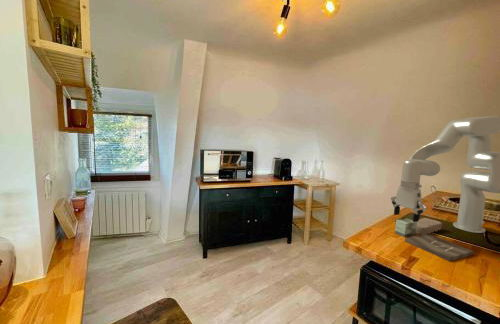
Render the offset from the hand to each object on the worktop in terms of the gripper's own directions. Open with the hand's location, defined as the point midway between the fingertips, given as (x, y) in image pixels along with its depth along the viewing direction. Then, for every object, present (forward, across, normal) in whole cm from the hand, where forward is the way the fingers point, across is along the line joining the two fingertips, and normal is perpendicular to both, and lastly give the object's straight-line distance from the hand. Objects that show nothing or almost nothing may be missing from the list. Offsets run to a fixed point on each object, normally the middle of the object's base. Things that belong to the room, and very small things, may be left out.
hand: (405, 218), depth 113 cm
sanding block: (+9, 0, -1) cm, 9 cm away
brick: (+9, 0, -16) cm, 18 cm away
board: (+8, -15, -1) cm, 17 cm away
